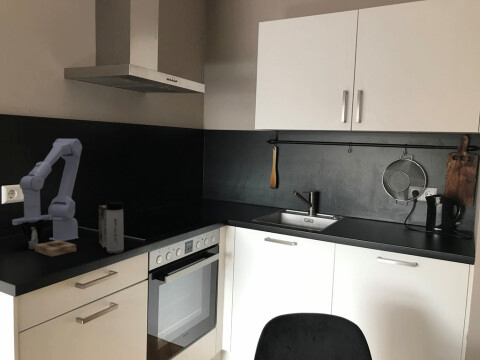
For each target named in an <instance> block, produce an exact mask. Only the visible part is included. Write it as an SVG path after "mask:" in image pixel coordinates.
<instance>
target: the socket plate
mask: <svg viewBox="0 0 480 360" xmlns="http://www.w3.org/2000/svg"><path fill="white" fill-rule="evenodd" d="M34 252H36V253H39V254H42V255H45V256H48V257H51V258H52V257H56V256H61V255H64V254H69V253H75V252H77V244H75V243H71V242H68V241H61V240H57V241H54V240H51V241H48V242H42V243H38V244H36V245H35V249H34Z"/></svg>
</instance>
